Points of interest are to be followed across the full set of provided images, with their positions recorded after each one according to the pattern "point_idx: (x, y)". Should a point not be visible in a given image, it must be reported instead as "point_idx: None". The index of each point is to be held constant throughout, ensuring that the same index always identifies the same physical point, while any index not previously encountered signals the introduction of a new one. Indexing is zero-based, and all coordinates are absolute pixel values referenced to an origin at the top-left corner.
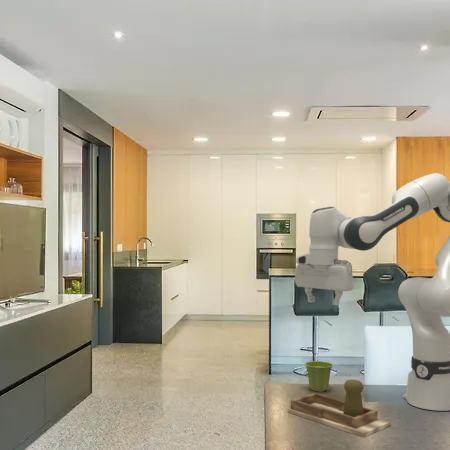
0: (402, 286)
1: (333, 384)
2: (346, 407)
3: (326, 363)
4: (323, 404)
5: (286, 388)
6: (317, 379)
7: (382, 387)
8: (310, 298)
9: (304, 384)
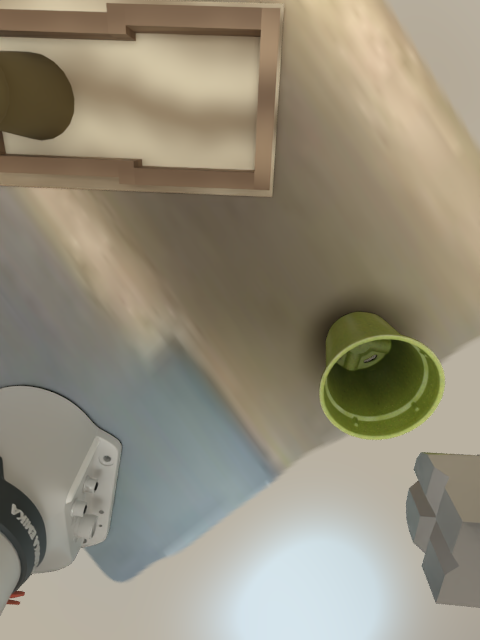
0: None
1: None
2: (11, 52)
3: (372, 432)
4: (216, 168)
5: (463, 270)
6: (351, 329)
7: (220, 485)
8: (470, 493)
9: None
